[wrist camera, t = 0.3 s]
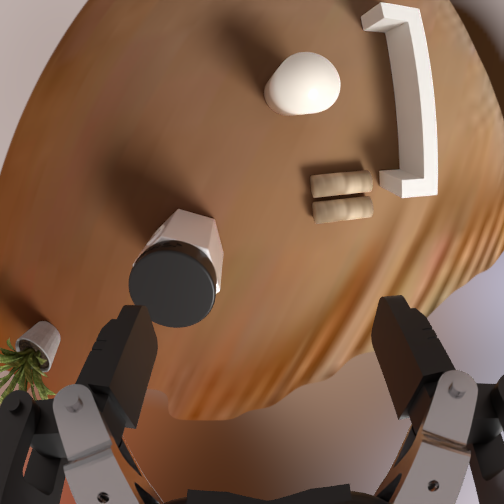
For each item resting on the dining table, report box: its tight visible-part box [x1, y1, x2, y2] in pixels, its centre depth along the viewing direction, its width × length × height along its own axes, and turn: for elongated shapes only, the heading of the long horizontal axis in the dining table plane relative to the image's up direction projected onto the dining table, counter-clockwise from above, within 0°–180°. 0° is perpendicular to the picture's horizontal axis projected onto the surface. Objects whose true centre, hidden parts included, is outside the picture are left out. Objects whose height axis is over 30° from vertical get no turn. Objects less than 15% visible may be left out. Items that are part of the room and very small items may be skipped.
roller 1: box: [310, 170, 373, 198], centre depth 35 cm, size 3×7×3 cm, turn 98°
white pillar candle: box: [264, 52, 340, 116], centre depth 27 cm, size 5×5×11 cm
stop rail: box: [361, 2, 438, 198], centre depth 29 cm, size 22×5×6 cm, turn 8°
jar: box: [129, 209, 223, 328], centre depth 33 cm, size 9×8×12 cm
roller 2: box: [312, 196, 373, 224], centre depth 36 cm, size 3×7×3 cm, turn 98°
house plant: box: [0, 321, 60, 404], centre depth 36 cm, size 14×14×16 cm
